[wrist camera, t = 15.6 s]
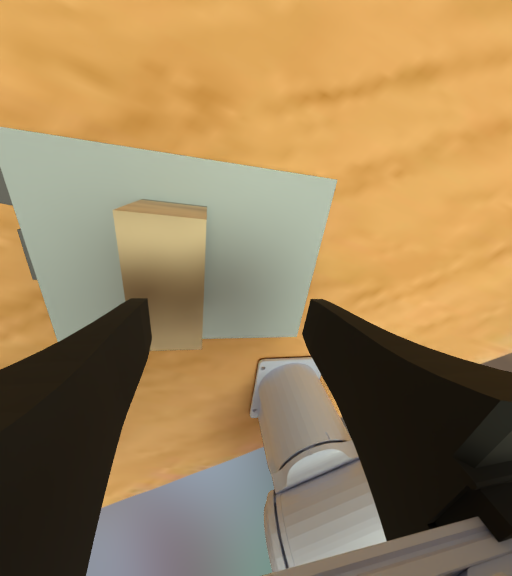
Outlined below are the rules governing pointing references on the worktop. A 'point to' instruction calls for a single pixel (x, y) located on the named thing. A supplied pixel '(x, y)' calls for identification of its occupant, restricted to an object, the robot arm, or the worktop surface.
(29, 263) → the pencil mark
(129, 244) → the block
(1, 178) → the pencil mark
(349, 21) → the worktop surface
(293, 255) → the board
